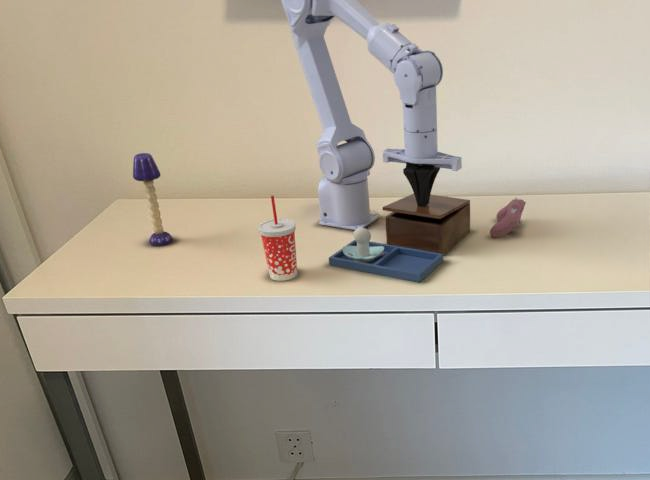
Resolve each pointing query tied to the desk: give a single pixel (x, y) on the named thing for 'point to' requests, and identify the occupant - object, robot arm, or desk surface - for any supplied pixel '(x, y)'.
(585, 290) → the desk surface
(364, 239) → the pacifier
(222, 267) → the desk surface
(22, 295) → the desk surface
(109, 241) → the desk surface
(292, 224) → the beverage cup
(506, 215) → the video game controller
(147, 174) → the toy lamp
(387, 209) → the chest lid
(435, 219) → the chest
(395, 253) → the tray
